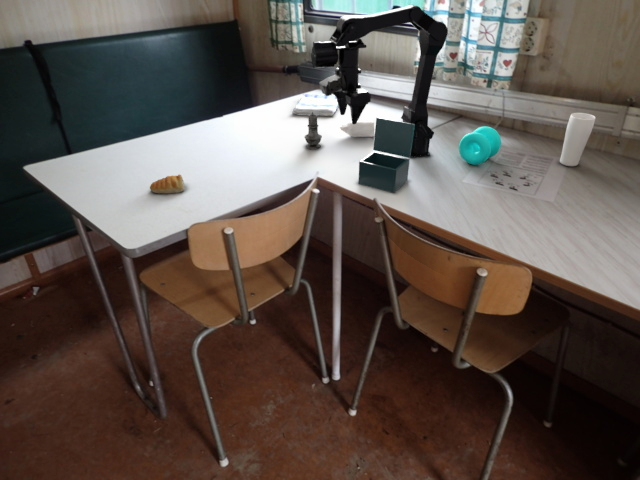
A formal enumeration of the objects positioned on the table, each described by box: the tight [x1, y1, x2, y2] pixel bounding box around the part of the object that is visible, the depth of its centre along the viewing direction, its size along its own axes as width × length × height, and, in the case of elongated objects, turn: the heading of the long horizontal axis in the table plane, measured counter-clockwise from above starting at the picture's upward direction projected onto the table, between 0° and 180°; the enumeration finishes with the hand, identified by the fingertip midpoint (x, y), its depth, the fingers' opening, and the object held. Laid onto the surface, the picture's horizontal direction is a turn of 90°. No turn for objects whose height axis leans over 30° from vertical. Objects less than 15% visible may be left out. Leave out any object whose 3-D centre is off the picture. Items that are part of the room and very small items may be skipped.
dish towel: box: [291, 93, 339, 117], centre depth 193 cm, size 17×24×3 cm
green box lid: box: [372, 116, 415, 159], centre depth 129 cm, size 9×11×1 cm
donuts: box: [458, 125, 502, 166], centre depth 142 cm, size 10×10×10 cm
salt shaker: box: [304, 112, 323, 151], centre depth 153 cm, size 6×6×12 cm
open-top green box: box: [357, 150, 410, 194], centre depth 131 cm, size 9×11×7 cm
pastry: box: [149, 173, 185, 195], centre depth 129 cm, size 9×7×4 cm
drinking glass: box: [559, 112, 597, 167], centre depth 138 cm, size 7×7×15 cm
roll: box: [339, 120, 375, 138], centre depth 163 cm, size 6×12×6 cm, turn 90°
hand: (348, 119), depth 138 cm, fingers open, 9 cm apart
